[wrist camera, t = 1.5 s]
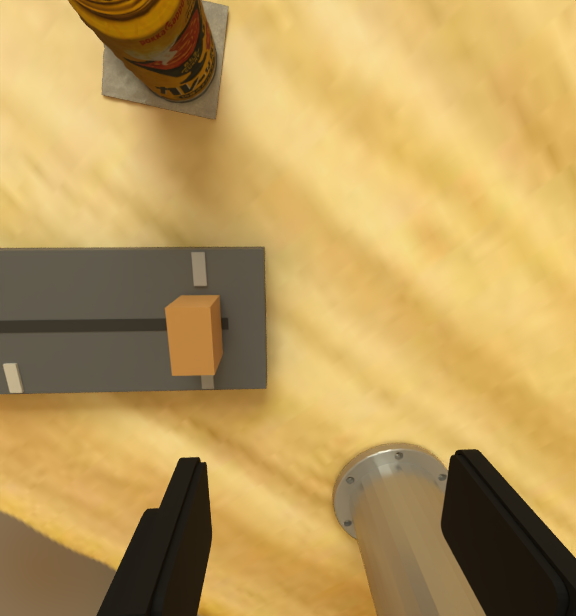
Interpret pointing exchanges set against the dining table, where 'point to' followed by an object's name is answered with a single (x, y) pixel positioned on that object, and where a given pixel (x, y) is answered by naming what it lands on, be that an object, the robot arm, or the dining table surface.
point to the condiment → (160, 51)
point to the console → (124, 317)
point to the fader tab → (194, 334)
